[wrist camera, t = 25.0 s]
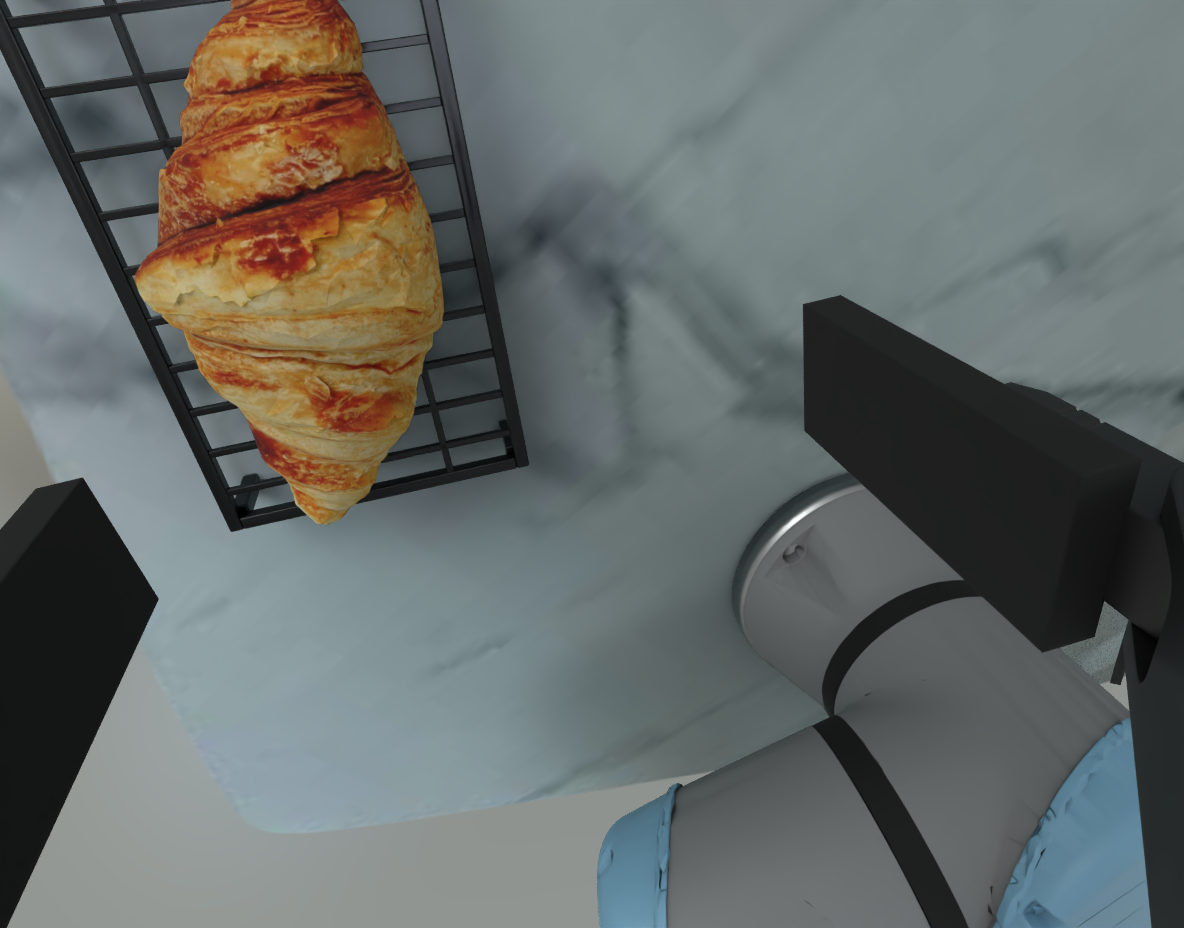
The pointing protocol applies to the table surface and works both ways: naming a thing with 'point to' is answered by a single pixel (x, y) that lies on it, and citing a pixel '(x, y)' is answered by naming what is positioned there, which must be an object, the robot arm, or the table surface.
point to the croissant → (297, 248)
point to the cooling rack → (7, 38)
